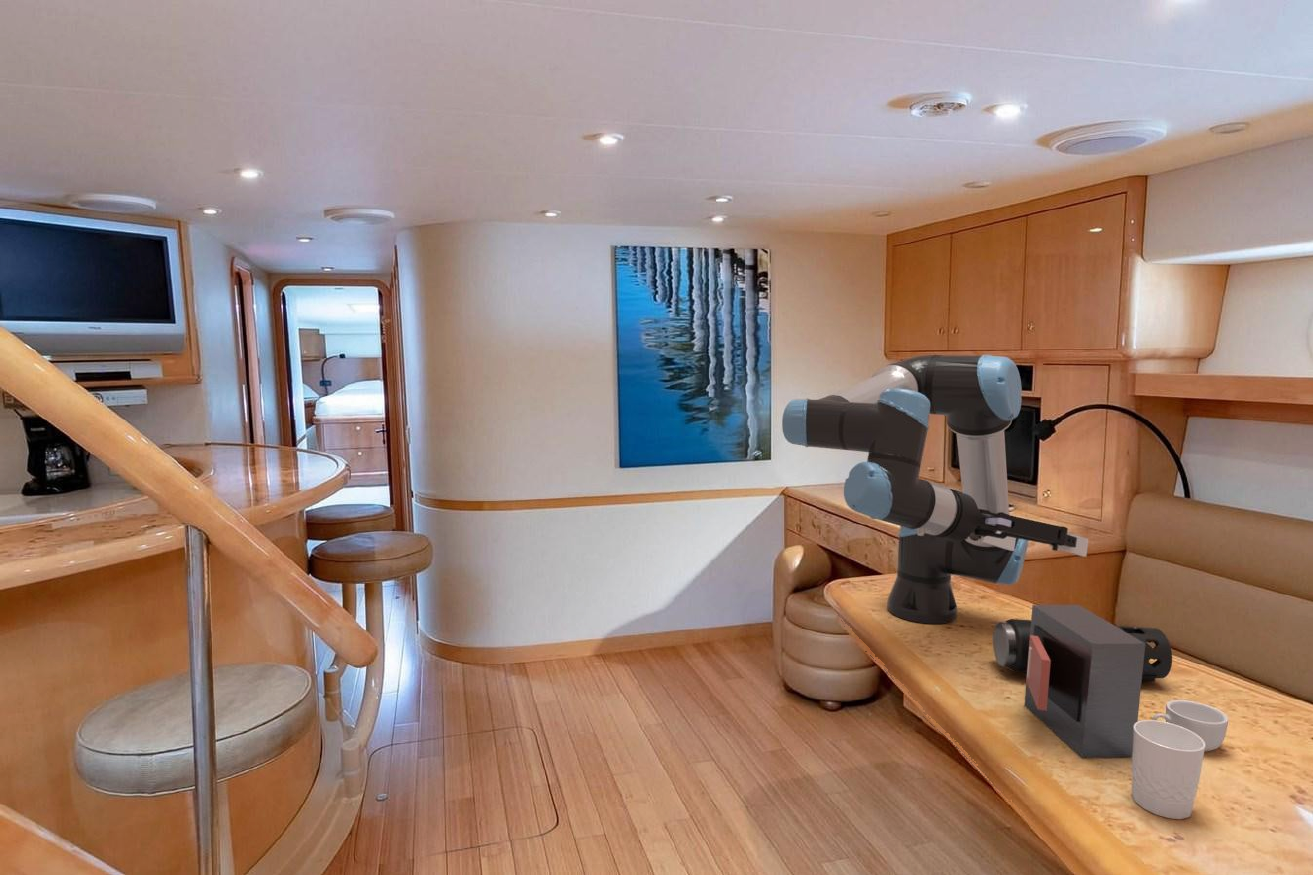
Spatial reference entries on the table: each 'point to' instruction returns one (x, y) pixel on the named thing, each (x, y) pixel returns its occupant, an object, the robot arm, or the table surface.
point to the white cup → (1166, 768)
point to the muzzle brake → (1016, 632)
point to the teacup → (1198, 720)
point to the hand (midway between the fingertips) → (1047, 545)
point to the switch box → (1088, 680)
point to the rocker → (1038, 672)
